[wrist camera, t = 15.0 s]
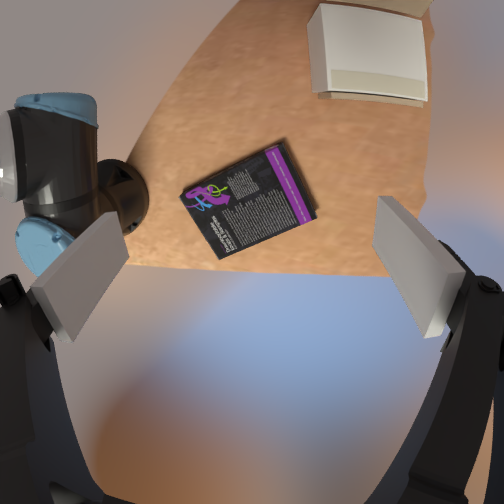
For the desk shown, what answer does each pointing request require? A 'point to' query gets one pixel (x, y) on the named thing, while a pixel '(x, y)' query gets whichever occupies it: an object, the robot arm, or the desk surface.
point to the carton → (367, 55)
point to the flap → (396, 5)
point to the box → (249, 202)
